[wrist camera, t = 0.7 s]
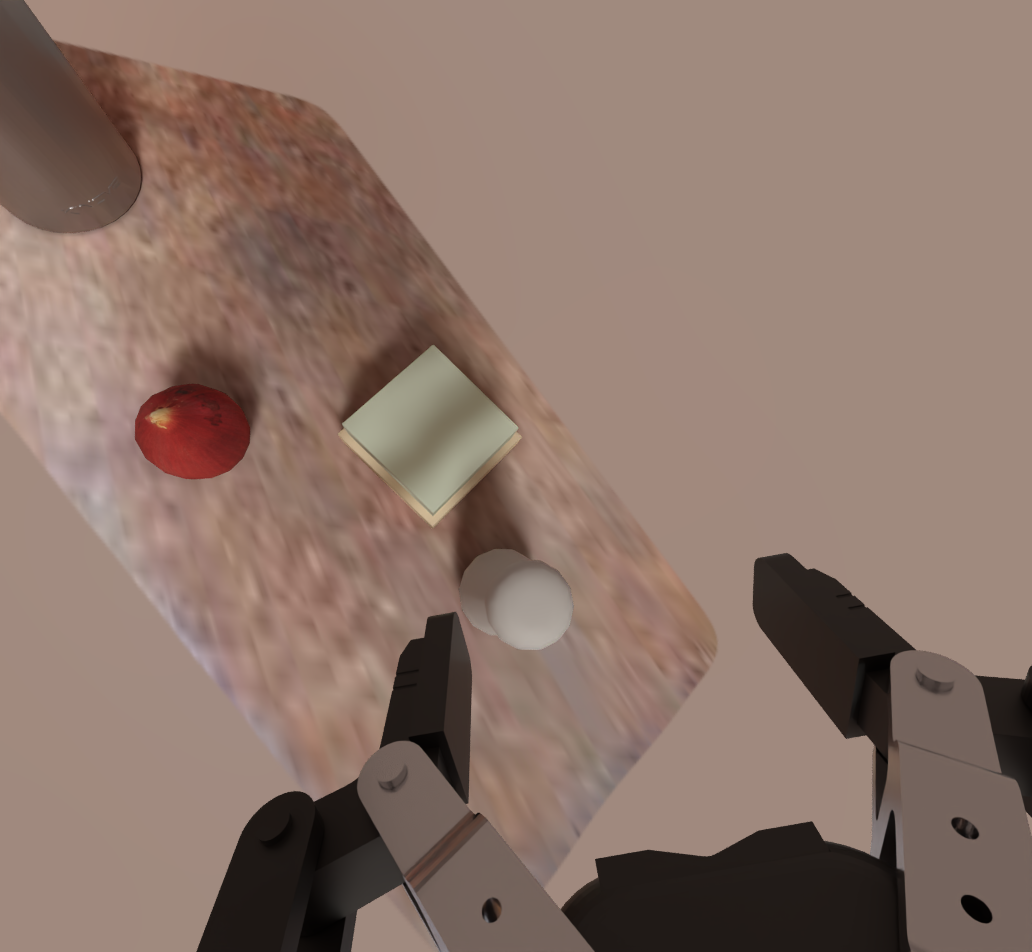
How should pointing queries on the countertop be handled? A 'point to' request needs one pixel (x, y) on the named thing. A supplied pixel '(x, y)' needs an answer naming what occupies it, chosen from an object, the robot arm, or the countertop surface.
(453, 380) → the brick base
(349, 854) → the robot arm
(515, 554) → the salt shaker
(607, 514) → the countertop surface
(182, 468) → the onion
